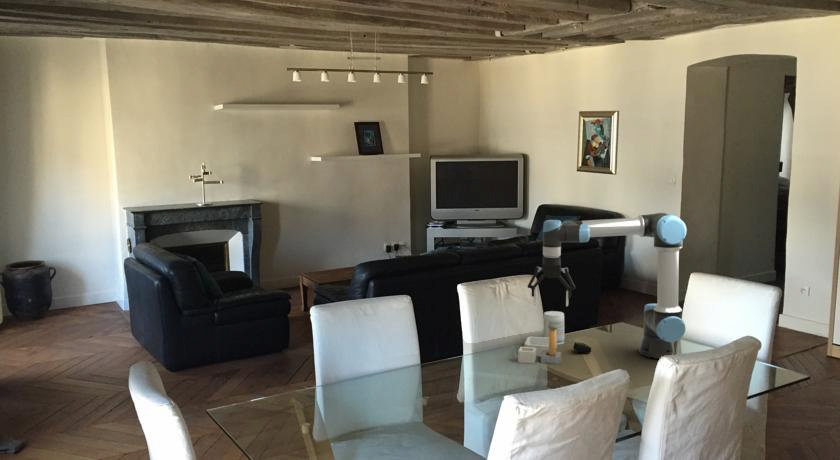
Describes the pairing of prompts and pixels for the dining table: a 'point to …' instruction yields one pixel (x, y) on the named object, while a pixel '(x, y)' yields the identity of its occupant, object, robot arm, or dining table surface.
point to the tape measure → (582, 347)
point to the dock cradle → (538, 344)
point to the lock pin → (552, 339)
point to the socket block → (527, 355)
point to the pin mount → (550, 358)
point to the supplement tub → (554, 318)
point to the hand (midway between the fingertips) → (551, 304)
